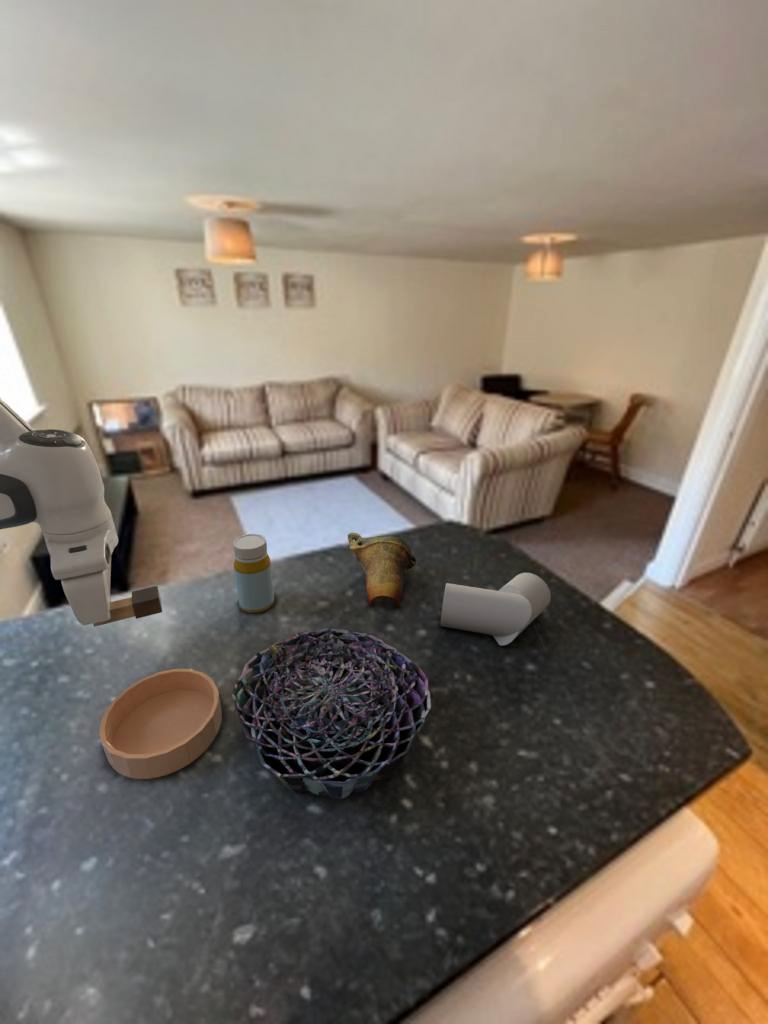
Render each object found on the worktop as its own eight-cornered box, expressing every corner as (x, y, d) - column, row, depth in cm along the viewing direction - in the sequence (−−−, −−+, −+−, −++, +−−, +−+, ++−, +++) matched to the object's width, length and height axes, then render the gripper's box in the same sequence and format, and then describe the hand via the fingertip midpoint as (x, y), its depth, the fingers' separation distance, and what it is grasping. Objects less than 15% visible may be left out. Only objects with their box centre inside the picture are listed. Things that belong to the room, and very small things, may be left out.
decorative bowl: (328, 883, 50) (331, 836, 46) (199, 728, 65) (191, 681, 61) (452, 734, 68) (463, 689, 63) (328, 639, 83) (330, 597, 78)
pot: (348, 578, 86) (356, 513, 99) (332, 609, 94) (341, 545, 107) (430, 599, 90) (427, 534, 103) (408, 627, 97) (408, 563, 110)
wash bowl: (84, 781, 58) (74, 758, 56) (139, 689, 72) (133, 668, 70) (201, 781, 59) (196, 758, 57) (234, 689, 73) (231, 669, 71)
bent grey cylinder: (507, 669, 76) (558, 616, 89) (504, 615, 73) (556, 568, 86) (426, 638, 88) (481, 595, 102) (420, 590, 85) (478, 553, 99)
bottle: (277, 610, 91) (270, 546, 84) (241, 618, 89) (232, 553, 82) (271, 591, 97) (265, 530, 90) (238, 598, 94) (229, 535, 88)
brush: (93, 629, 71) (88, 614, 70) (95, 615, 75) (90, 600, 73) (162, 612, 76) (158, 597, 74) (160, 599, 79) (157, 585, 78)
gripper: (64, 514, 74) (86, 584, 80) (49, 577, 58) (78, 658, 64) (108, 507, 77) (126, 575, 83) (105, 565, 61) (128, 644, 67)
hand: (105, 612), depth 73 cm, fingers closed on brush, 2 cm apart
